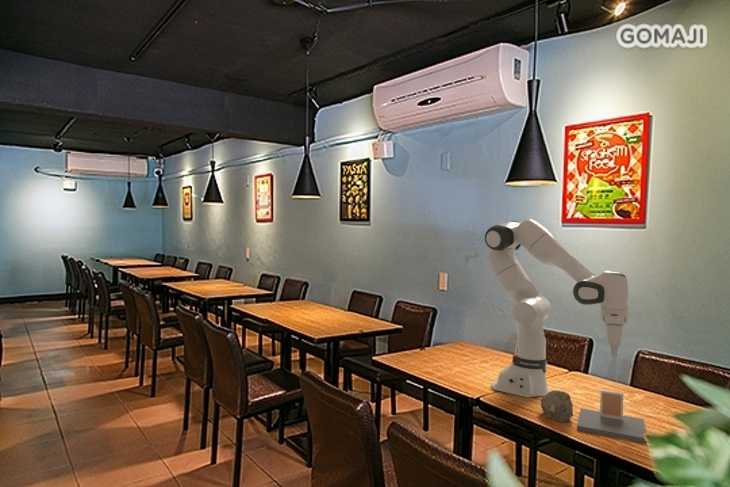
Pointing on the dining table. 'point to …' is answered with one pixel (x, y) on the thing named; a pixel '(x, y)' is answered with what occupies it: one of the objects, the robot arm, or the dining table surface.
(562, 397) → the rock
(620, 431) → the board
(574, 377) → the dining table surface
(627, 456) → the dining table surface
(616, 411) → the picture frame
